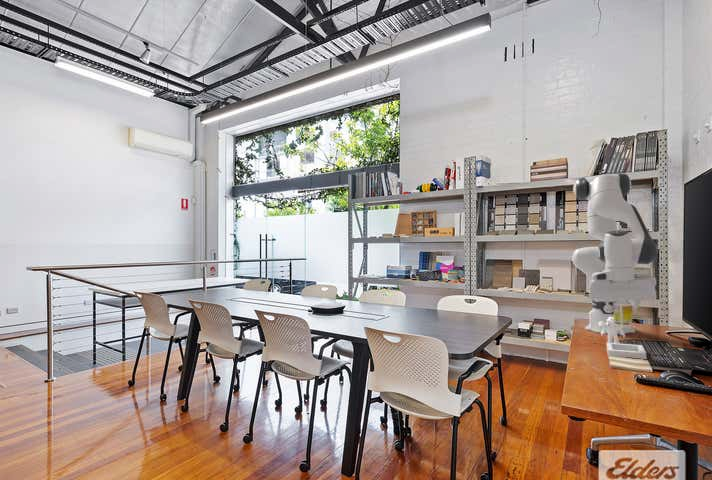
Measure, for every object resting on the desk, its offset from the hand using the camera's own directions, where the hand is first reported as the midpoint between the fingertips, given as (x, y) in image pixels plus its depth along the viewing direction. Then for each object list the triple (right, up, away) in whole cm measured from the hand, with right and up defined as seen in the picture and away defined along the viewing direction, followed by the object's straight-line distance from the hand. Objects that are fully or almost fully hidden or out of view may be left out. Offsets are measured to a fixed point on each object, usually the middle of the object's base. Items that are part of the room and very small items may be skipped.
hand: (622, 311), depth 137 cm
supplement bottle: (0, -5, 0) cm, 5 cm away
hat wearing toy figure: (+5, -16, +12) cm, 20 cm away
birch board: (-6, -16, -12) cm, 21 cm away
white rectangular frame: (+1, -16, -1) cm, 16 cm away
